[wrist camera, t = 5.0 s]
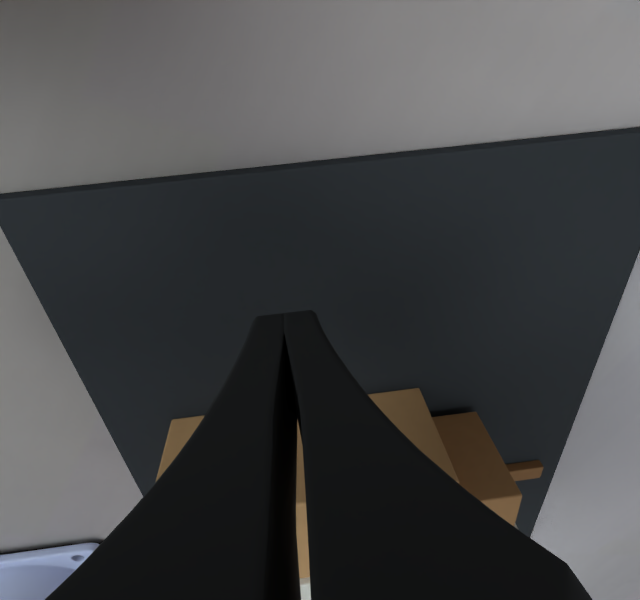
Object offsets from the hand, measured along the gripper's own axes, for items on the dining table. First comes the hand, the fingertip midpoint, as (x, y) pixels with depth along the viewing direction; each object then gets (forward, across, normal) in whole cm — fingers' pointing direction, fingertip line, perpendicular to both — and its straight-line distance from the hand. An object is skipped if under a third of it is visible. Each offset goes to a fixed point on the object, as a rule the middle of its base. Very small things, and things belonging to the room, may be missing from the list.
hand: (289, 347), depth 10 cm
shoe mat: (+4, -2, +8) cm, 9 cm away
